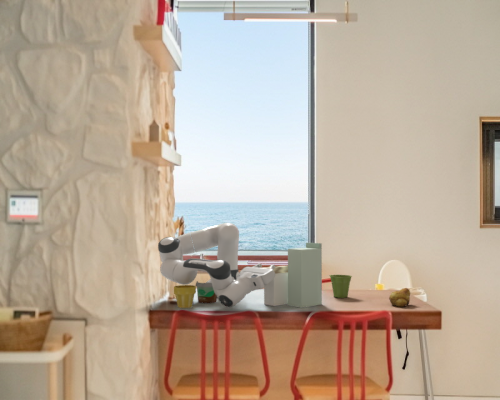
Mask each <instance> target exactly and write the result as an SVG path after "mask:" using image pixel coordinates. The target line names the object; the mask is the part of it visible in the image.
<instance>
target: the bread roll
mask: <svg viewBox="0 0 500 400" xmlns="http://www.w3.org/2000/svg"><path fill="white" fill-rule="evenodd" d="M410 296H411V290H410V289H409V288H407V287H405V288H402V289H400V290H396V291H391V293H390V295H389V298H388V299H389V302H390V304H391V305H393V306H395V305H396V306H395V307H399V308H400V307H404V306H405V307H407V306H408V305H409V304H410V299H411V298H410Z"/></svg>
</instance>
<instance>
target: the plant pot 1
mask: <svg viewBox="0 0 500 400" xmlns="http://www.w3.org/2000/svg"><path fill="white" fill-rule="evenodd" d="M196 292H197V287H196V285H191V284H187V285H183V284H179V285H175V286H173V294H174V295H175V296H174V297H175V301H176V305H177V308H180V309H188V308H189V309H190V308H192V307H193V304H194V303H193V302H194V298H195V295H196Z"/></svg>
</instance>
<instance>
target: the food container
mask: <svg viewBox="0 0 500 400" xmlns="http://www.w3.org/2000/svg"><path fill="white" fill-rule="evenodd" d="M195 286H196V292H197V302H198V303H200V304H215V303H217V295H216V294H215V293H214V290H213V286H212V283H206V282H199V281H196V282H195Z"/></svg>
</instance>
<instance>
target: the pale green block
mask: <svg viewBox="0 0 500 400" xmlns="http://www.w3.org/2000/svg"><path fill="white" fill-rule="evenodd" d="M322 245H323V243H321V242H319V243H318V242H305V247H297V248H296V247H294V248H287V265H288V304H287V306H289V307H295V308H300V309H303V308H311V307H315V306H322V305H323V302H322V301H323V296H322V295H323V285H322V283H323V281H322V280H323V279H322V278H323V274H322V272H323V269H322V264H323V263H322V259H323V257H322V256H323V255H322V254H323V253H322V252H323V251H322V249H323V248H322Z"/></svg>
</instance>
